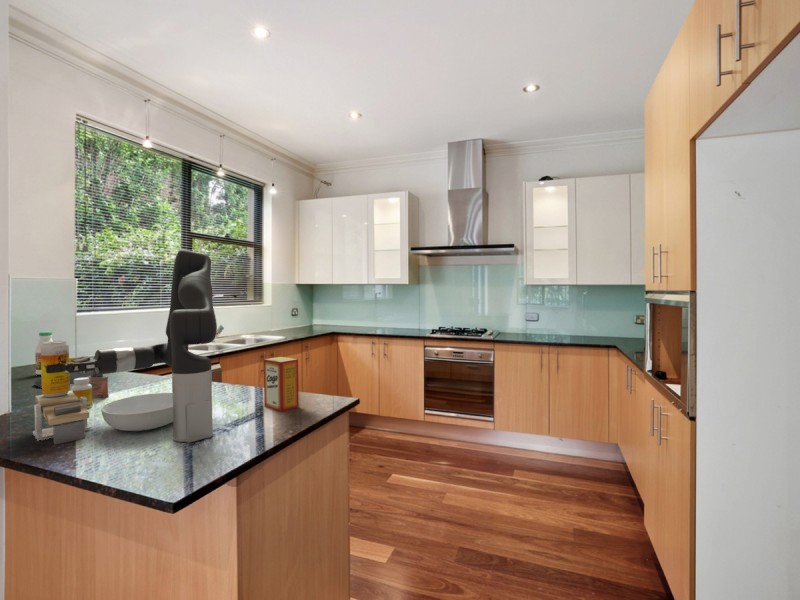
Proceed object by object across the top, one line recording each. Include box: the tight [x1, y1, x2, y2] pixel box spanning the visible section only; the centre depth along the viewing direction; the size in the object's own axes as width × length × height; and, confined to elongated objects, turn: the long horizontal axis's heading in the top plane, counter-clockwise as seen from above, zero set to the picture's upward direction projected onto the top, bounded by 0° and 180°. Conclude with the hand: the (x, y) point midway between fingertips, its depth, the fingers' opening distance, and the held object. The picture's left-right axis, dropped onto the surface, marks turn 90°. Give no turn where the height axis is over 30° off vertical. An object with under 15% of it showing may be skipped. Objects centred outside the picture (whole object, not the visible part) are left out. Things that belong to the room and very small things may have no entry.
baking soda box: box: [263, 356, 300, 413], centre depth 133 cm, size 10×6×16 cm
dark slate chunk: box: [33, 371, 91, 388], centre depth 173 cm, size 15×22×5 cm
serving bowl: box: [100, 392, 173, 432], centre depth 115 cm, size 21×21×7 cm
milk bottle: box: [34, 331, 54, 375], centre depth 190 cm, size 8×8×20 cm
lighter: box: [87, 370, 110, 400], centre depth 147 cm, size 8×3×10 cm, turn 76°
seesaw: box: [34, 390, 90, 426], centre depth 110 cm, size 22×8×3 cm, turn 49°
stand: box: [32, 397, 91, 445], centre depth 108 cm, size 14×11×8 cm
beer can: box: [41, 340, 71, 397], centre depth 116 cm, size 6×6×15 cm
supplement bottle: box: [70, 378, 93, 409], centre depth 134 cm, size 5×5×10 cm
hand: (44, 367), depth 114 cm, fingers closed on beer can, 6 cm apart
